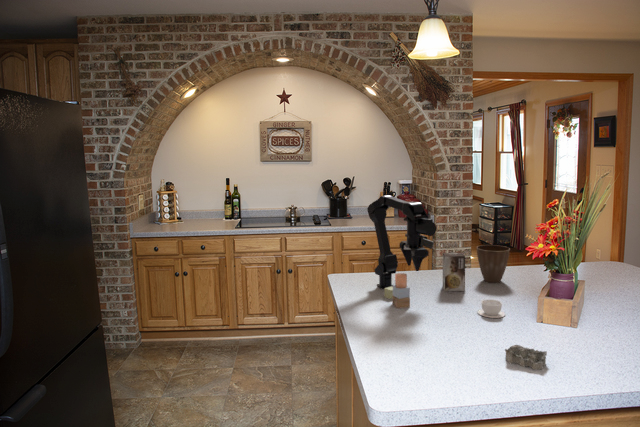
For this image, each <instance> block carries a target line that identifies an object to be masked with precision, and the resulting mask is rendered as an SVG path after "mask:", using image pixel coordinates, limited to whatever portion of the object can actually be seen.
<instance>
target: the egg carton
mask: <svg viewBox="0 0 640 427" xmlns="http://www.w3.org/2000/svg"><path fill="white" fill-rule="evenodd" d="M504 351H505V361H507V362H508V363H510V364H519V366H521V367H530V368H532V369H533V370H543V368H544V366H545V365H546V359H547V354H548V351H547V350H546V351H542V350H538V349H536V350H535V348H529V347H524V346H521V345H519V344H514V345H511V346H509V348H505V349H504Z"/></svg>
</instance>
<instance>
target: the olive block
mask: <svg viewBox="0 0 640 427" xmlns="http://www.w3.org/2000/svg"><path fill="white" fill-rule="evenodd" d="M383 294H384V296H383V297H384V298H386V299H388V300H392V295H393V287H387V288H384V293H383Z"/></svg>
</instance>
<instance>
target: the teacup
mask: <svg viewBox="0 0 640 427" xmlns="http://www.w3.org/2000/svg"><path fill="white" fill-rule="evenodd" d="M480 303H481V308H482V309H479V310H477V314H478V315H479V316H482V317H485V318H490V319H495V318H497V319H500V318H504V317H505V316H506V313H505V312H504V311H502V307H503V303H502V302H501V301H499V300H496V299H483V300H481V302H480Z"/></svg>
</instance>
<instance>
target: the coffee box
mask: <svg viewBox="0 0 640 427" xmlns="http://www.w3.org/2000/svg"><path fill="white" fill-rule="evenodd" d="M442 289H443V291H444V292H465V291H466V255H465V254H464V253H463V252H443V253H442Z"/></svg>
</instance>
